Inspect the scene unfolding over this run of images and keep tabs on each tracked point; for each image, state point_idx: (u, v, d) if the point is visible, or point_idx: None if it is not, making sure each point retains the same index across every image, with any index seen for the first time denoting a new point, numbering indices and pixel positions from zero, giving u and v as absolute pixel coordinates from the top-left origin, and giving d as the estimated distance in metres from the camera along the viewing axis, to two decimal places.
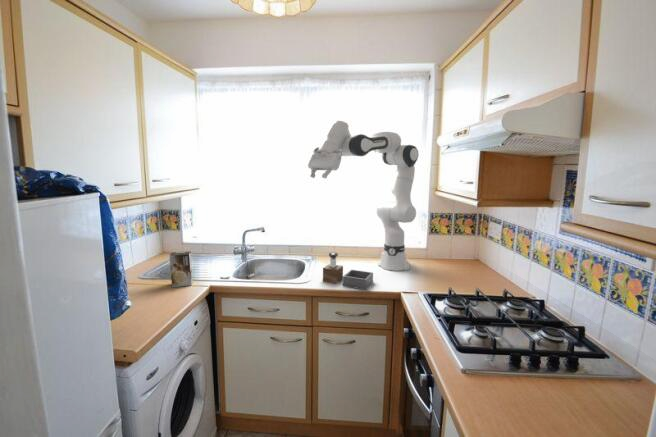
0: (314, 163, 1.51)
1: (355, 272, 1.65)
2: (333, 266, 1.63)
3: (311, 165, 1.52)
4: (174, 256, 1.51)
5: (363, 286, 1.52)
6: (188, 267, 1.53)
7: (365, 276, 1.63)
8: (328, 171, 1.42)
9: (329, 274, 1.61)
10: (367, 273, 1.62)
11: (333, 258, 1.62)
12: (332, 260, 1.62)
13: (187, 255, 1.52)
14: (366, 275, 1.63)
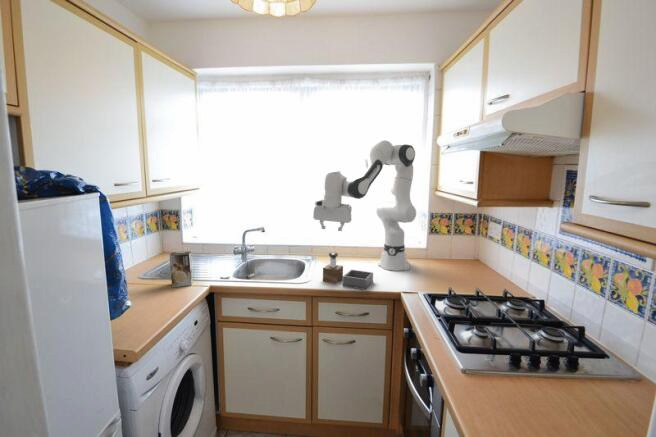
0: (322, 216, 1.60)
1: (355, 272, 1.65)
2: (333, 266, 1.63)
3: (318, 218, 1.61)
4: (174, 256, 1.51)
5: (363, 286, 1.52)
6: (188, 267, 1.53)
7: (365, 276, 1.63)
8: (343, 225, 1.57)
9: (329, 274, 1.61)
10: (367, 273, 1.62)
11: (333, 258, 1.62)
12: (332, 260, 1.62)
13: (187, 255, 1.52)
14: (366, 275, 1.63)
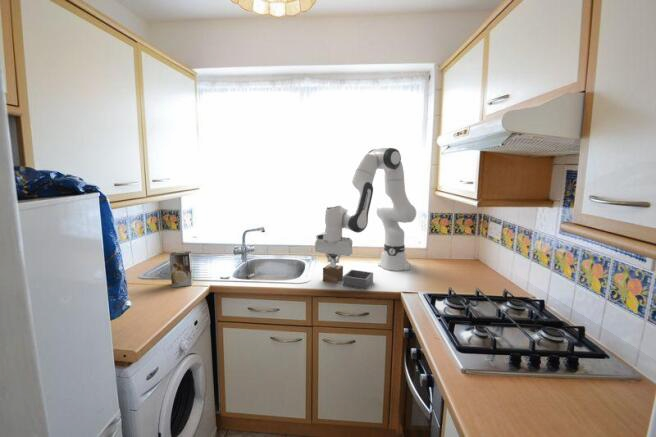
0: (323, 249, 1.63)
1: (355, 272, 1.65)
2: (333, 266, 1.63)
3: (320, 251, 1.64)
4: (174, 256, 1.51)
5: (363, 286, 1.52)
6: (188, 267, 1.53)
7: (365, 276, 1.63)
8: (339, 257, 1.62)
9: (329, 274, 1.61)
10: (367, 273, 1.62)
11: (333, 258, 1.62)
12: (332, 260, 1.62)
13: (187, 255, 1.52)
14: (366, 275, 1.63)
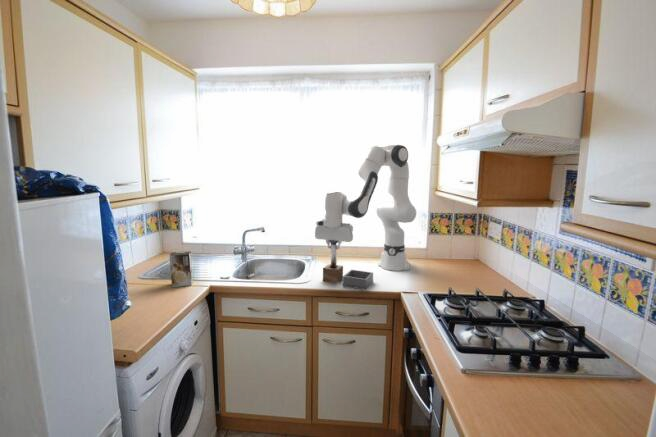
0: (324, 235, 1.62)
1: (355, 272, 1.65)
2: (334, 252, 1.62)
3: (320, 237, 1.63)
4: (174, 256, 1.51)
5: (363, 286, 1.52)
6: (188, 267, 1.53)
7: (365, 276, 1.63)
8: (340, 243, 1.61)
9: (329, 274, 1.61)
10: (367, 273, 1.62)
11: (333, 244, 1.61)
12: (332, 246, 1.61)
13: (187, 255, 1.52)
14: (366, 275, 1.63)
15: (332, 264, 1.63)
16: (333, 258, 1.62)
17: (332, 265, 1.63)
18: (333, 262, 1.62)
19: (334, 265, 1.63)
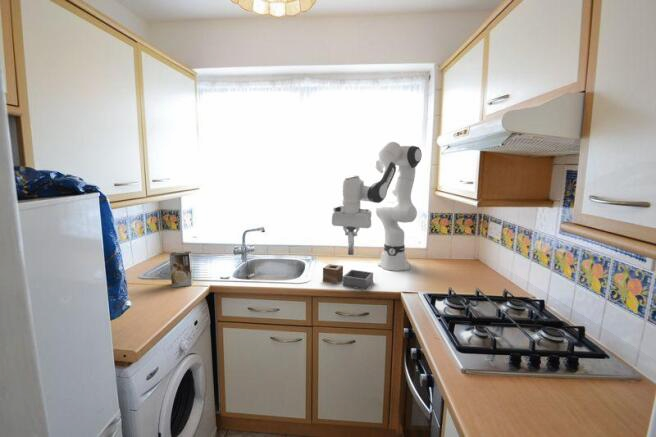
0: (341, 222, 1.57)
1: (355, 272, 1.65)
2: (351, 240, 1.57)
3: (337, 224, 1.58)
4: (174, 256, 1.51)
5: (363, 286, 1.52)
6: (188, 267, 1.53)
7: (365, 276, 1.63)
8: (358, 230, 1.56)
9: (329, 274, 1.61)
10: (367, 273, 1.62)
11: (351, 231, 1.56)
12: (350, 233, 1.56)
13: (187, 255, 1.52)
14: (366, 275, 1.63)
15: (349, 251, 1.58)
16: (350, 245, 1.57)
17: (349, 252, 1.58)
18: (350, 249, 1.58)
19: (351, 252, 1.58)
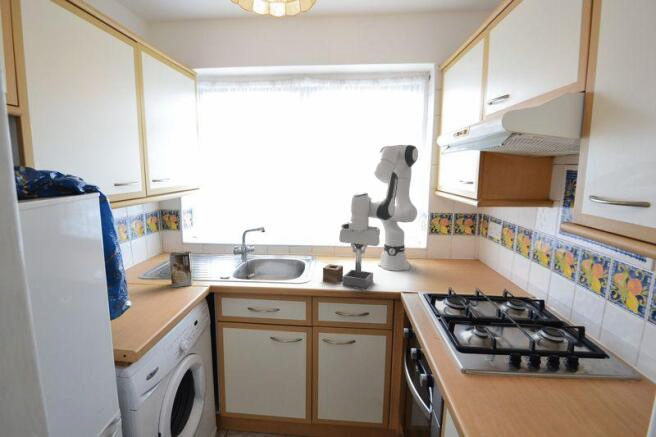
0: (349, 239, 1.56)
1: (355, 272, 1.65)
2: (359, 257, 1.56)
3: (345, 241, 1.57)
4: (174, 256, 1.51)
5: (363, 286, 1.52)
6: (188, 267, 1.53)
7: (365, 276, 1.63)
8: (366, 247, 1.55)
9: (329, 274, 1.61)
10: (367, 273, 1.62)
11: (359, 248, 1.55)
12: (358, 250, 1.55)
13: (187, 255, 1.52)
14: (366, 275, 1.63)
15: (357, 269, 1.57)
16: (358, 262, 1.56)
17: (357, 270, 1.57)
18: (358, 267, 1.56)
19: (359, 270, 1.57)
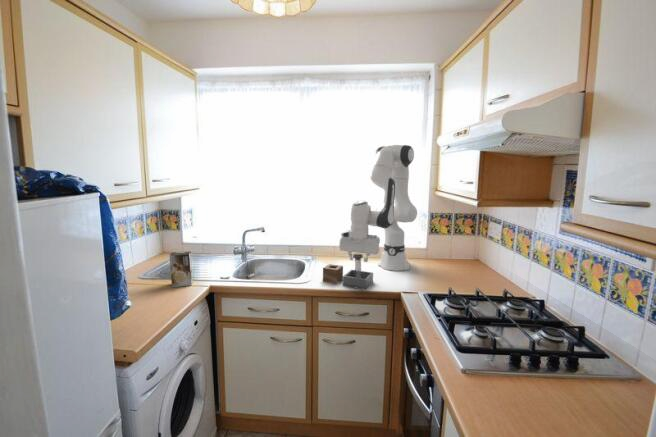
0: (349, 247, 1.57)
1: None
2: (358, 268, 1.57)
3: (345, 249, 1.58)
4: (174, 256, 1.51)
5: (363, 286, 1.52)
6: (188, 267, 1.53)
7: (365, 276, 1.63)
8: (369, 255, 1.55)
9: (329, 274, 1.61)
10: (367, 273, 1.62)
11: (358, 259, 1.56)
12: (357, 261, 1.56)
13: (187, 255, 1.52)
14: (366, 275, 1.63)
15: None
16: (358, 273, 1.57)
17: None
18: (358, 277, 1.57)
19: None
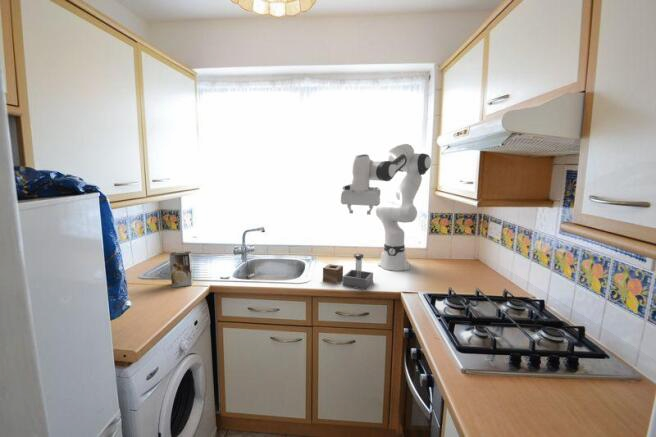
0: (350, 200, 1.60)
1: None
2: (359, 268, 1.57)
3: (346, 202, 1.61)
4: (174, 256, 1.51)
5: (363, 286, 1.52)
6: (188, 267, 1.53)
7: (365, 276, 1.63)
8: (371, 208, 1.57)
9: (329, 274, 1.61)
10: (367, 273, 1.62)
11: (359, 259, 1.56)
12: (358, 261, 1.56)
13: (187, 255, 1.52)
14: (366, 275, 1.63)
15: None
16: (358, 273, 1.57)
17: None
18: (358, 277, 1.57)
19: None
